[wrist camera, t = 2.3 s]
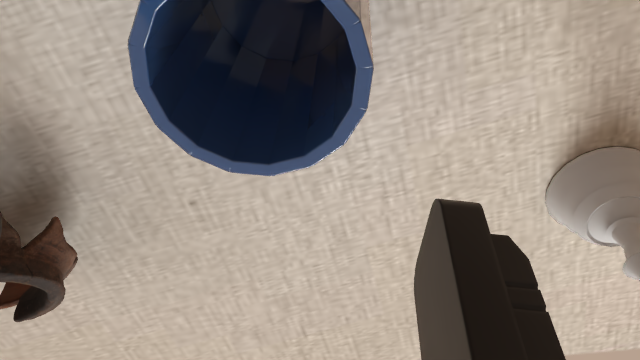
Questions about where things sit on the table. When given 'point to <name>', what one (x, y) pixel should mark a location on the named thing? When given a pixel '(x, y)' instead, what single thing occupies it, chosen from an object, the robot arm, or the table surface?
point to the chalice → (601, 200)
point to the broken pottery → (34, 270)
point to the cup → (254, 78)
